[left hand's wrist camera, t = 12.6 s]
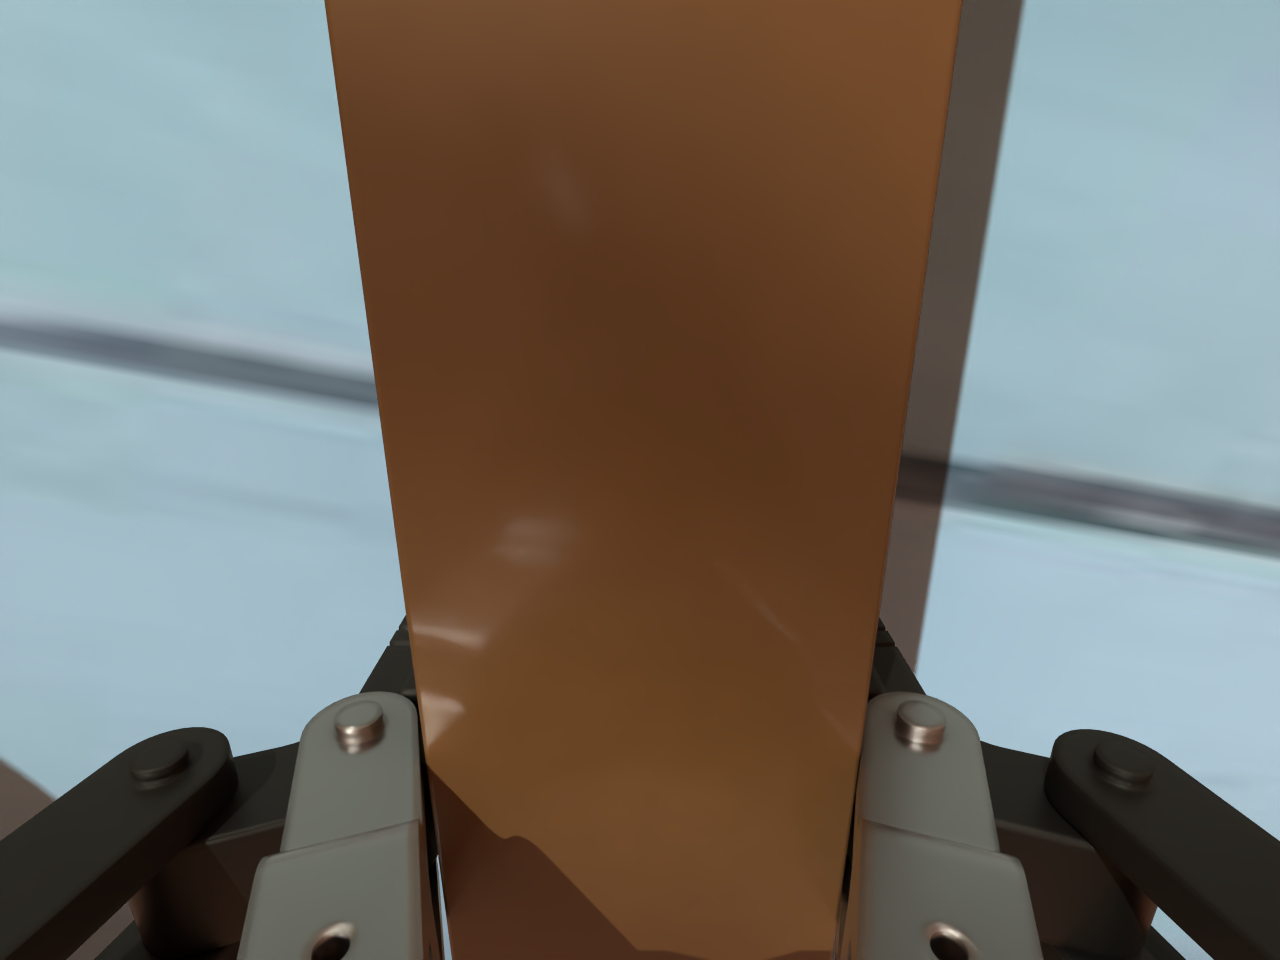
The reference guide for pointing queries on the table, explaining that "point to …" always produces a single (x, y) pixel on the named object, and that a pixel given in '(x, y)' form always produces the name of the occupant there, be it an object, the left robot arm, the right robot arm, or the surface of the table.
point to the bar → (642, 439)
